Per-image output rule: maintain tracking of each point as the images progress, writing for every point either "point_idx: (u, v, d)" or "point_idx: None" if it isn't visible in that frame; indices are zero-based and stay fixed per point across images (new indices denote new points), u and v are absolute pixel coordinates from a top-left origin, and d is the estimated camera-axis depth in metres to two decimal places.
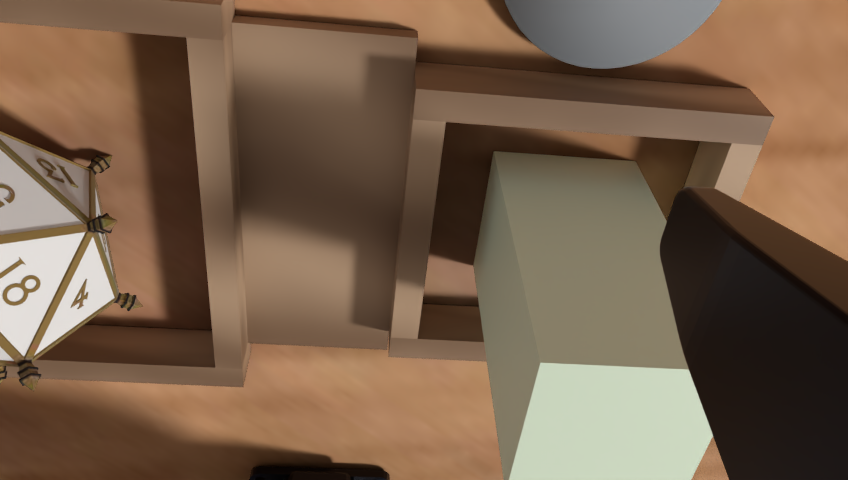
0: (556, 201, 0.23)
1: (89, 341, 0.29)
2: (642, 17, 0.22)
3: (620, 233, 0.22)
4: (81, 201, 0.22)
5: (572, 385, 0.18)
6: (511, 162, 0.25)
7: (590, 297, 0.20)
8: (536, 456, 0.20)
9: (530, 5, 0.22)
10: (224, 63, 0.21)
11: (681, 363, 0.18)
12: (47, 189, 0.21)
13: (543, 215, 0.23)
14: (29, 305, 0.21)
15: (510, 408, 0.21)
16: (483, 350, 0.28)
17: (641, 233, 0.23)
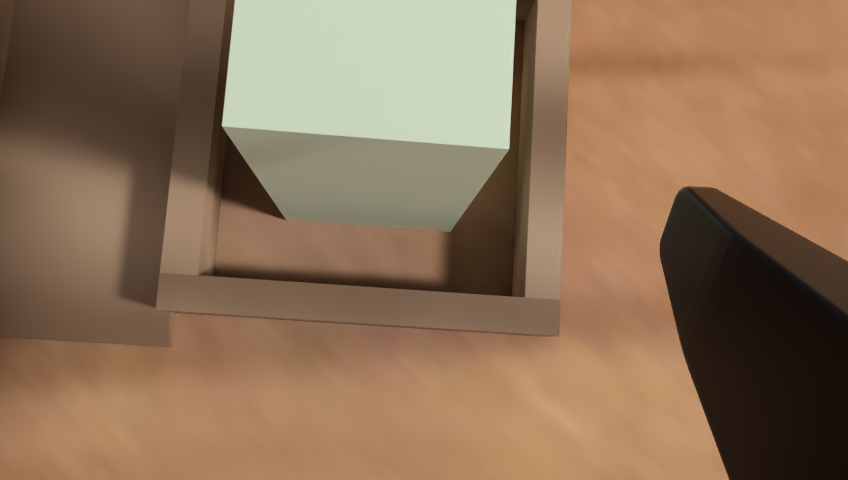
0: None
1: None
2: None
3: None
4: None
5: None
6: None
7: None
8: (263, 42, 0.13)
9: None
10: None
11: None
12: None
13: None
14: None
15: None
16: (290, 297, 0.21)
17: None
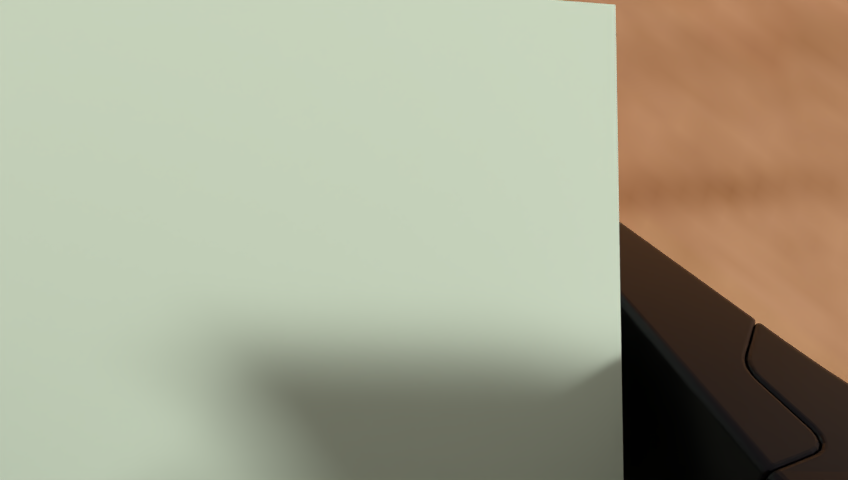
0: None
1: None
2: None
3: None
4: None
5: (108, 53, 0.06)
6: None
7: None
8: (23, 410, 0.05)
9: None
10: None
11: (436, 3, 0.06)
12: None
13: None
14: None
15: None
16: None
17: None
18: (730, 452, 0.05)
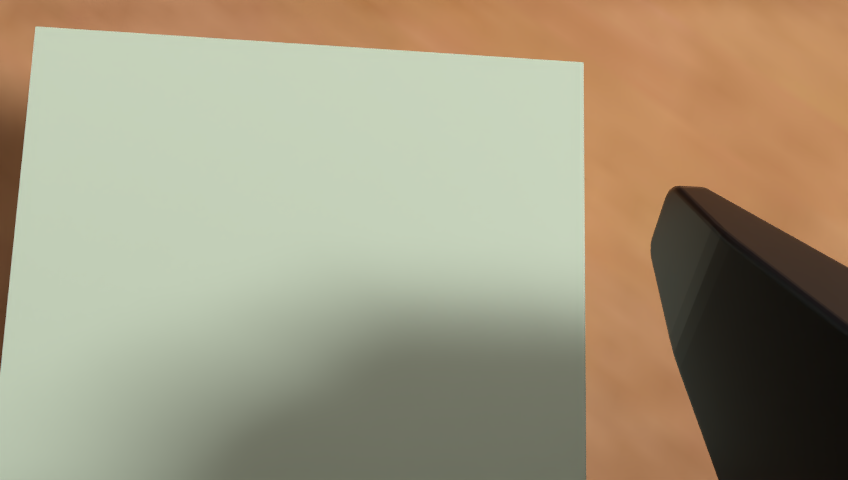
0: None
1: None
2: None
3: None
4: None
5: (136, 109, 0.07)
6: None
7: None
8: (66, 423, 0.06)
9: None
10: None
11: (426, 60, 0.07)
12: None
13: None
14: None
15: None
16: None
17: None
18: None
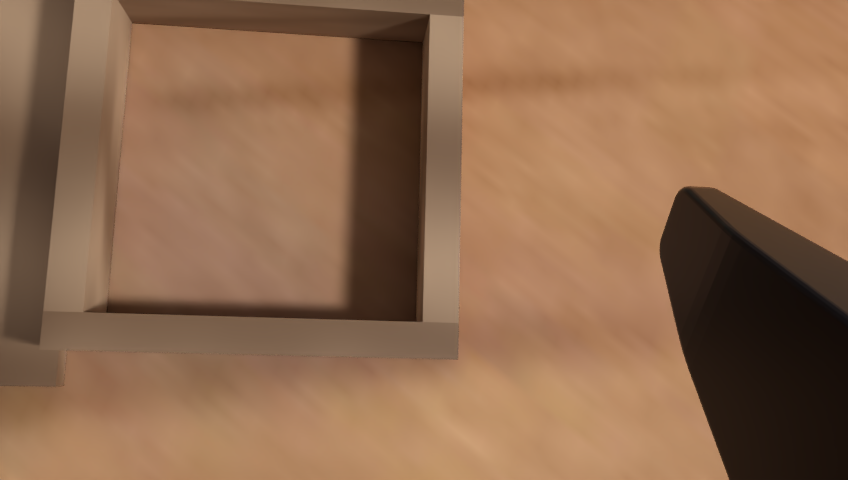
0: None
1: None
2: None
3: None
4: None
5: None
6: None
7: None
8: None
9: None
10: None
11: None
12: None
13: None
14: None
15: None
16: (181, 331, 0.20)
17: None
18: None
